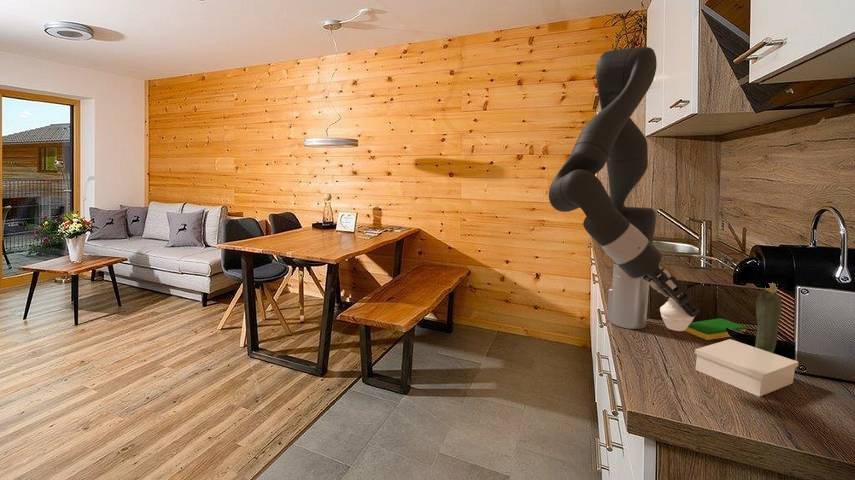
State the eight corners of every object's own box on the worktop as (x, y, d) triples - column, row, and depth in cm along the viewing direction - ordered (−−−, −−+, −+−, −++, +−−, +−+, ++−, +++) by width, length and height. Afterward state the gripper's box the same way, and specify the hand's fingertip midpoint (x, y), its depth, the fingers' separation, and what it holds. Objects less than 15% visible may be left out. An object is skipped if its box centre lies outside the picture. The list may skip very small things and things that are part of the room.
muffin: (671, 334, 79) (675, 300, 77) (651, 323, 85) (654, 291, 83) (701, 333, 79) (705, 299, 78) (679, 322, 85) (682, 290, 84)
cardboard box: (693, 370, 88) (695, 349, 87) (727, 359, 93) (730, 339, 92) (760, 399, 76) (763, 374, 76) (795, 384, 82) (798, 361, 81)
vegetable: (778, 365, 89) (790, 278, 86) (756, 364, 90) (767, 277, 87) (766, 357, 93) (777, 273, 90) (745, 355, 94) (755, 272, 91)
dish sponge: (682, 331, 110) (683, 323, 110) (720, 326, 114) (721, 317, 114) (707, 341, 103) (708, 332, 103) (746, 335, 107) (747, 326, 107)
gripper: (661, 242, 72) (724, 307, 73) (630, 231, 87) (683, 285, 87) (628, 270, 74) (691, 334, 75) (603, 255, 88) (656, 308, 89)
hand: (686, 308), depth 81 cm, fingers closed on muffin, 6 cm apart
